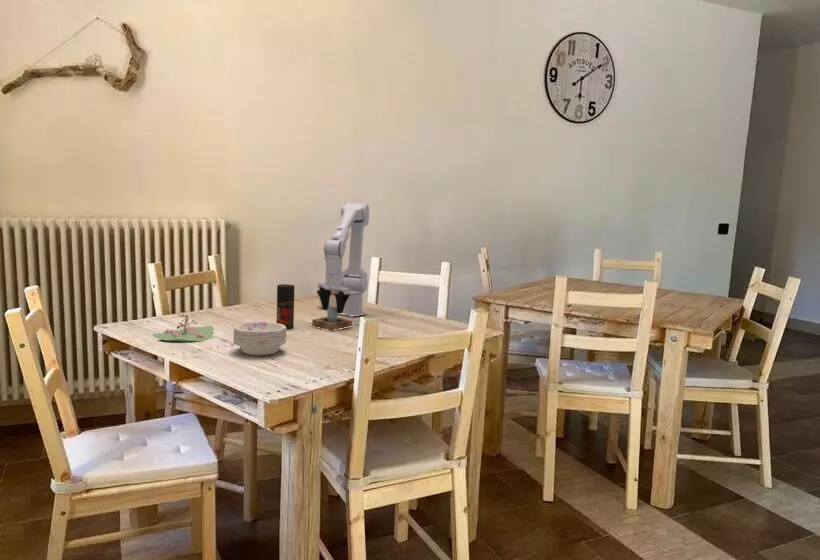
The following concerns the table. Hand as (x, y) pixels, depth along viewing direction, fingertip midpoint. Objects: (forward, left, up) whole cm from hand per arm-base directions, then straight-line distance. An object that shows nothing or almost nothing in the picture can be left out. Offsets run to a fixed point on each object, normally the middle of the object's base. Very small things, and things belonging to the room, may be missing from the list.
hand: (332, 311), depth 226 cm
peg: (0, 0, -6) cm, 6 cm away
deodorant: (-9, -14, -6) cm, 18 cm away
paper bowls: (+12, -40, -6) cm, 42 cm away
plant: (-21, -44, -7) cm, 49 cm away
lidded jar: (-26, +23, -6) cm, 35 cm away
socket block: (0, 0, -6) cm, 6 cm away
